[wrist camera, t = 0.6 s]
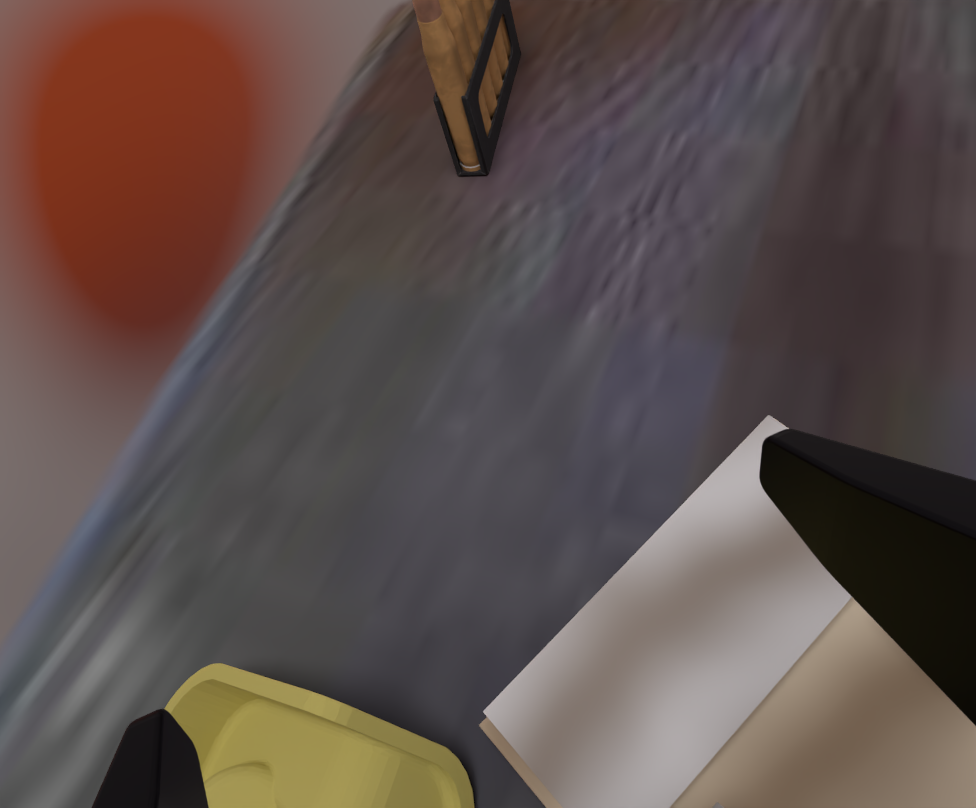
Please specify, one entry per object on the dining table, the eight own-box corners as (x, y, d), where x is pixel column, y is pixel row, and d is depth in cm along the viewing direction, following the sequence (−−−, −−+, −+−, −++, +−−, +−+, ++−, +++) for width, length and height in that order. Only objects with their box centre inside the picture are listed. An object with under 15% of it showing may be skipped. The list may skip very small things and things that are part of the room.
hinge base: (1308, 809, 20) (1520, 812, 15) (977, 1322, 17) (1105, 1539, 12) (769, 435, 29) (790, 358, 24) (488, 729, 26) (444, 712, 21)
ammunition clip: (488, 176, 40) (425, -38, 30) (457, 177, 40) (384, -33, 30) (521, 53, 45) (476, -169, 34) (493, 55, 45) (441, -162, 35)
